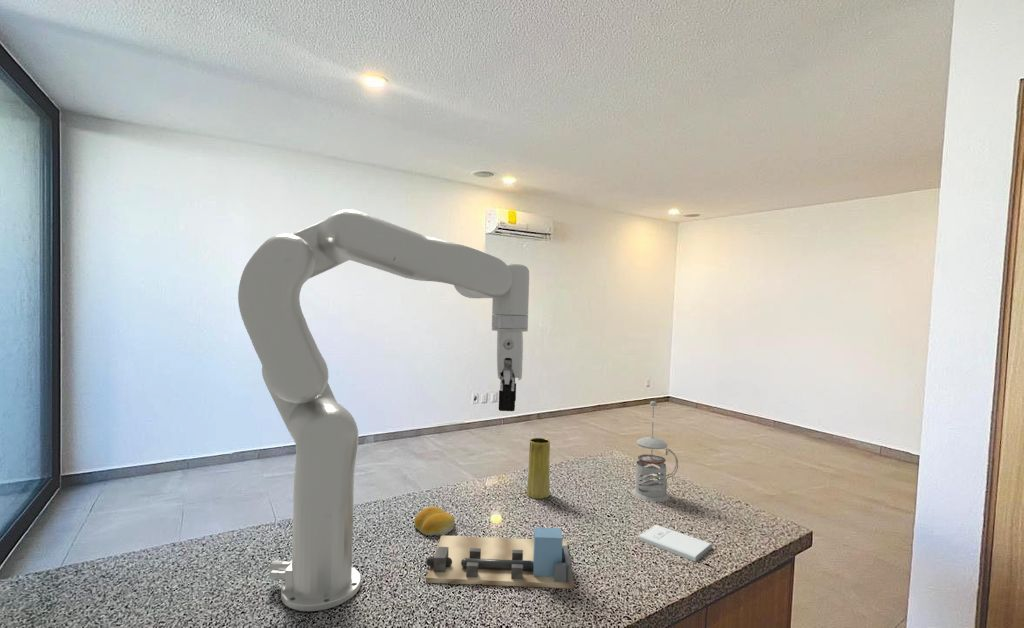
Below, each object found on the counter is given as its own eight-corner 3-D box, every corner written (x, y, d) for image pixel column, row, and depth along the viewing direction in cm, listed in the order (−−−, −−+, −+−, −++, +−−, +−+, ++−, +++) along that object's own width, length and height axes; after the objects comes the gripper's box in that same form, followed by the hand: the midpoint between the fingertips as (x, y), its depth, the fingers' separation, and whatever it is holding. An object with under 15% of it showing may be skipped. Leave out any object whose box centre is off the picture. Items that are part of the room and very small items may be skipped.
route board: (421, 582, 85) (421, 563, 85) (437, 539, 101) (437, 522, 101) (573, 588, 85) (574, 569, 85) (565, 544, 101) (566, 527, 101)
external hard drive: (695, 564, 95) (638, 542, 104) (711, 550, 101) (656, 530, 110) (695, 556, 95) (638, 534, 104) (712, 542, 101) (656, 523, 110)
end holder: (554, 581, 85) (554, 564, 85) (552, 560, 92) (552, 545, 92) (570, 582, 85) (570, 565, 85) (566, 561, 92) (567, 545, 92)
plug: (459, 573, 87) (460, 534, 87) (462, 561, 91) (463, 524, 91) (561, 577, 87) (562, 538, 87) (559, 565, 91) (560, 528, 91)
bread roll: (430, 541, 101) (430, 522, 101) (408, 526, 108) (409, 508, 108) (462, 530, 106) (463, 512, 106) (440, 516, 113) (440, 499, 113)
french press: (629, 486, 135) (632, 396, 135) (672, 489, 134) (675, 399, 133) (633, 500, 126) (636, 403, 125) (680, 503, 124) (683, 406, 124)
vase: (550, 499, 124) (552, 444, 124) (526, 498, 124) (528, 443, 124) (549, 490, 130) (550, 437, 130) (526, 489, 131) (527, 436, 130)
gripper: (528, 325, 92) (525, 415, 93) (527, 323, 110) (525, 398, 110) (488, 324, 92) (486, 414, 93) (494, 322, 110) (492, 397, 110)
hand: (507, 405), depth 101 cm, fingers open, 9 cm apart
